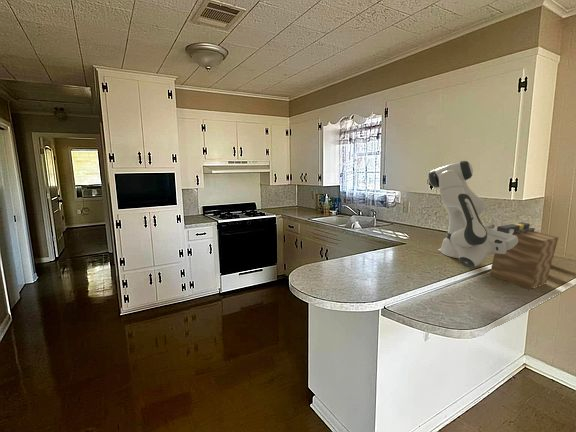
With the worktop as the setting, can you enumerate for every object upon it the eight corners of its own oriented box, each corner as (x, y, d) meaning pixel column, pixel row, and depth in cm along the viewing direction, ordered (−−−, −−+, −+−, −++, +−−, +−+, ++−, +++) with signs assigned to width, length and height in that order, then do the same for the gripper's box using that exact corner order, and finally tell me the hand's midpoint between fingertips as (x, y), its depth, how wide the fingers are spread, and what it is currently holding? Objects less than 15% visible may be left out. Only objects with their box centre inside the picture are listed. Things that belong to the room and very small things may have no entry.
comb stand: (530, 289, 162) (543, 238, 155) (489, 274, 179) (500, 226, 172) (545, 284, 169) (559, 234, 162) (505, 269, 186) (516, 223, 179)
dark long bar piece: (521, 228, 176) (522, 222, 176) (528, 230, 173) (529, 223, 173) (496, 233, 165) (497, 226, 164) (503, 235, 162) (505, 228, 161)
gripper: (466, 241, 168) (482, 227, 172) (508, 255, 151) (525, 238, 155) (465, 232, 165) (481, 217, 169) (507, 245, 148) (524, 228, 152)
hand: (502, 227), depth 162 cm, fingers open, 8 cm apart
